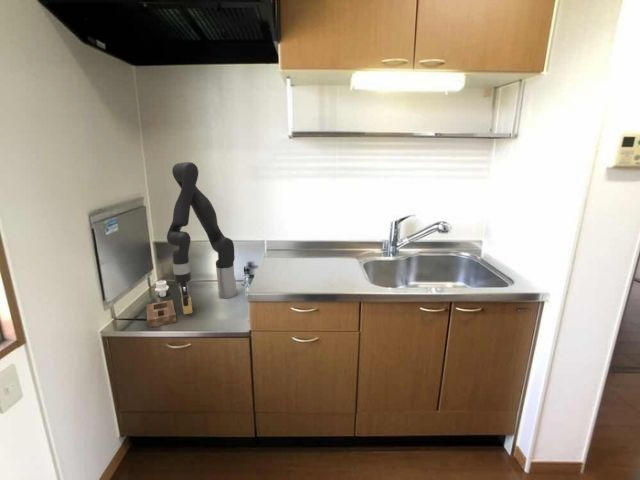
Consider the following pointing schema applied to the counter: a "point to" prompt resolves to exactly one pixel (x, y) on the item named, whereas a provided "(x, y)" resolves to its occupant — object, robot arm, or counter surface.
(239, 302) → the counter surface
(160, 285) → the pipe fitting
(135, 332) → the counter surface
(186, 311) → the square peg
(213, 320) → the counter surface
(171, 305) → the socket block
